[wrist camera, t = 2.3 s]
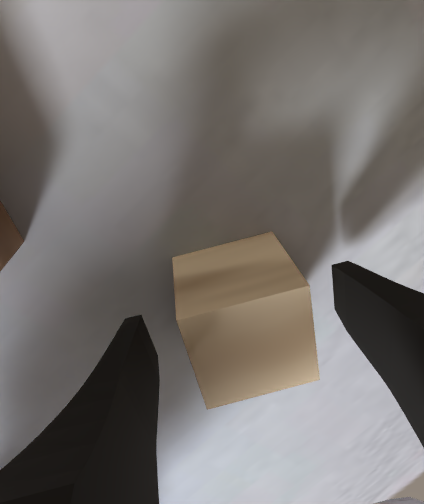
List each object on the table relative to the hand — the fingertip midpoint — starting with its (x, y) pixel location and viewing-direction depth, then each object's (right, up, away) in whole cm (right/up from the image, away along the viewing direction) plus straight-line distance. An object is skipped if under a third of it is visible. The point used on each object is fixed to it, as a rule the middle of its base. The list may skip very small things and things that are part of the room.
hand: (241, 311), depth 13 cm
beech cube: (0, +1, +2) cm, 2 cm away
